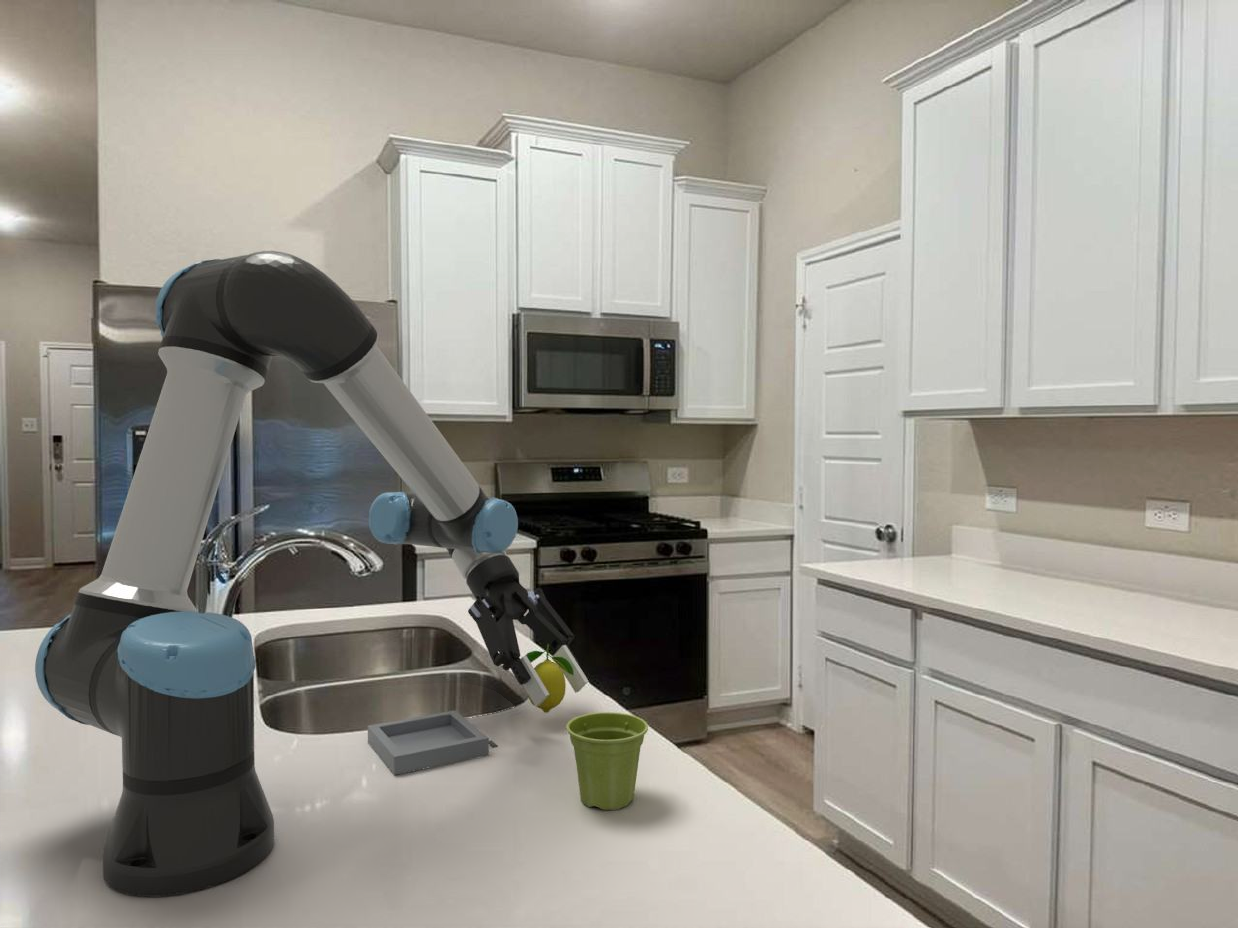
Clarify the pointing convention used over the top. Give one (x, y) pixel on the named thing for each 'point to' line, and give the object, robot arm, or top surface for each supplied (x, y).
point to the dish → (427, 741)
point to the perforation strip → (492, 743)
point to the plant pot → (607, 756)
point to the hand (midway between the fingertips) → (562, 693)
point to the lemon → (551, 678)
